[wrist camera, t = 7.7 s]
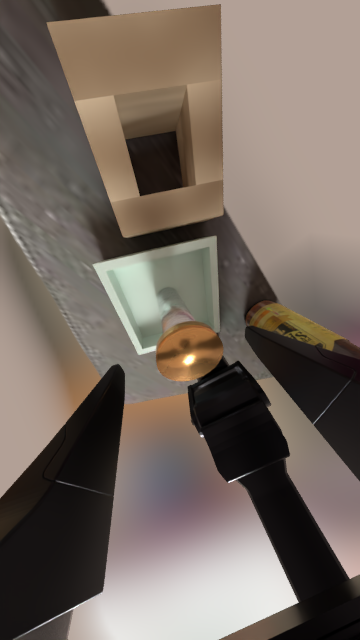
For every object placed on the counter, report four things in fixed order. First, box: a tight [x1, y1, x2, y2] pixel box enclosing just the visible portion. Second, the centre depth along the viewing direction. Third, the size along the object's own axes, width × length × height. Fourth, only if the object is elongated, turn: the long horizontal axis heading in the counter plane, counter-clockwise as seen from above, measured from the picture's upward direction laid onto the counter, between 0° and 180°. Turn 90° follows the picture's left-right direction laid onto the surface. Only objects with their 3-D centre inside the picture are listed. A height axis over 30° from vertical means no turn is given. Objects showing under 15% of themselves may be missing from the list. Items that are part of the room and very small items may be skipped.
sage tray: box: [93, 236, 220, 355], centre depth 17 cm, size 12×12×4 cm
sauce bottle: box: [245, 300, 360, 359], centre depth 16 cm, size 7×6×20 cm
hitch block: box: [46, 4, 223, 238], centre depth 11 cm, size 9×9×4 cm
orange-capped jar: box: [156, 287, 223, 381], centre depth 13 cm, size 4×4×11 cm
